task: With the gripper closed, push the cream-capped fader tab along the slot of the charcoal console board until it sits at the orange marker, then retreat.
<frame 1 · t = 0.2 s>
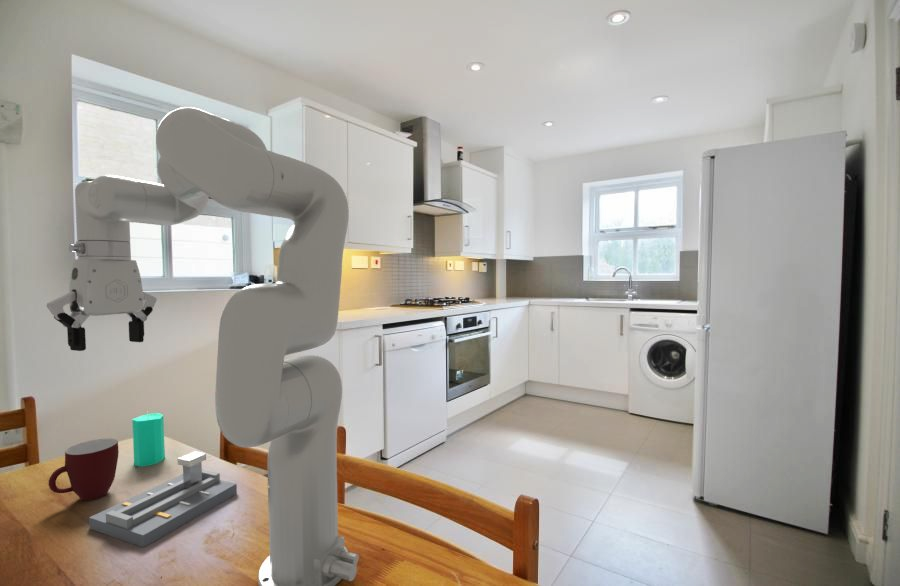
hand: (108, 345, 79), 31 cm above the table, fingers open, 9 cm apart
console: (168, 509, 80), on the table
fader tab: (192, 470, 84), point 5 cm above the table, slide at -5.0 cm
mug: (86, 499, 84), on the table
candle: (149, 461, 101), on the table
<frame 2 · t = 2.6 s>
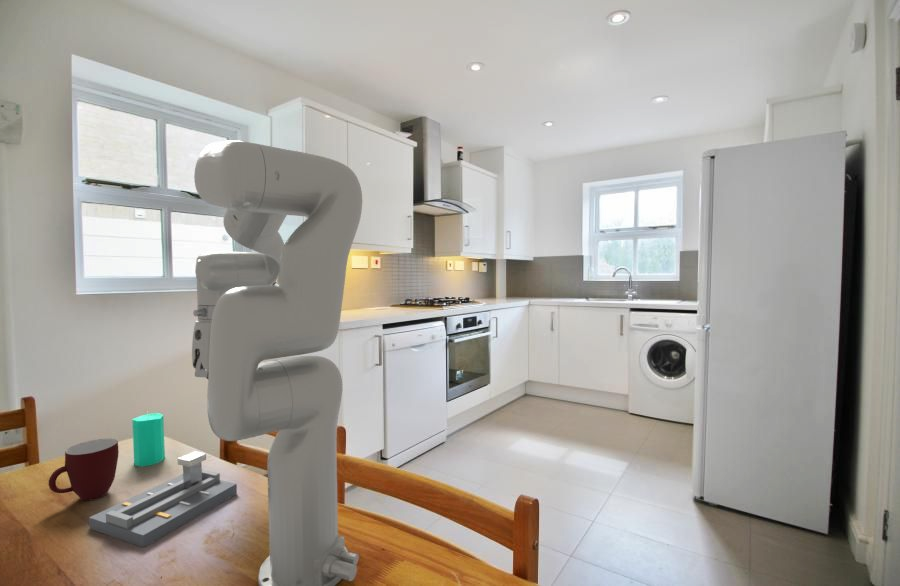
hand: (220, 399, 90), 17 cm above the table, fingers closed
nothing on the table moved.
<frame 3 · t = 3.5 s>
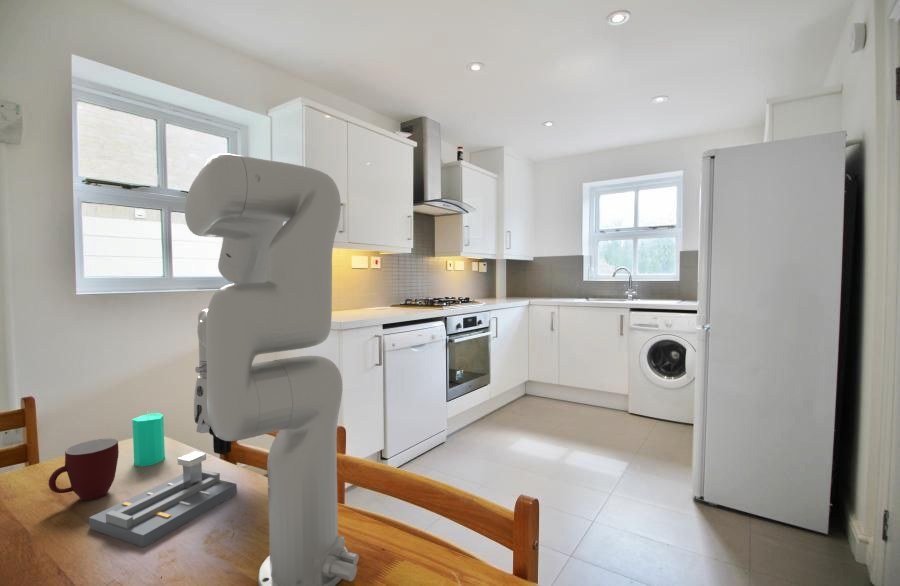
hand: (222, 452, 91), 6 cm above the table, fingers closed
nothing on the table moved.
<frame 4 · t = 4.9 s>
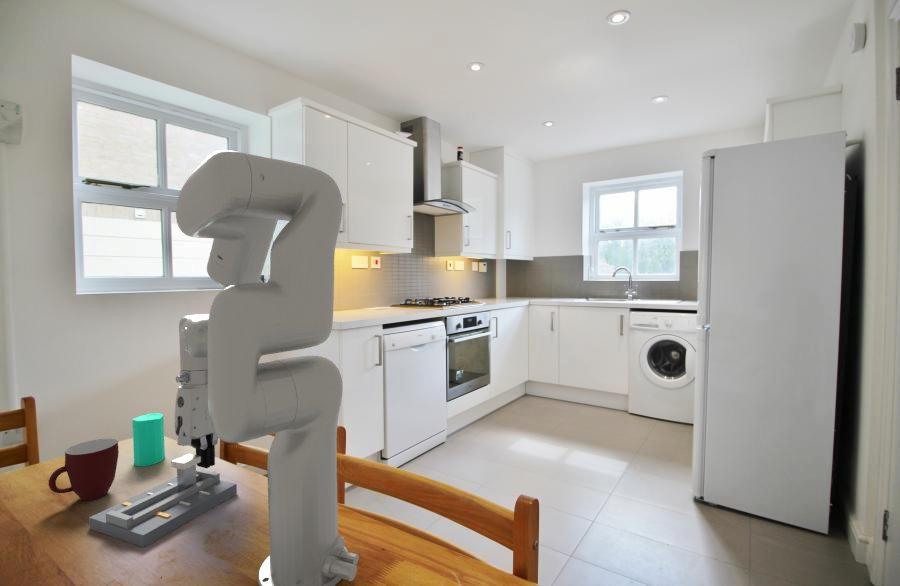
hand: (205, 465, 87), 5 cm above the table, fingers closed
fader tab: (186, 473, 83), point 5 cm above the table, slide at -3.8 cm, touching gripper
everything else where it was.
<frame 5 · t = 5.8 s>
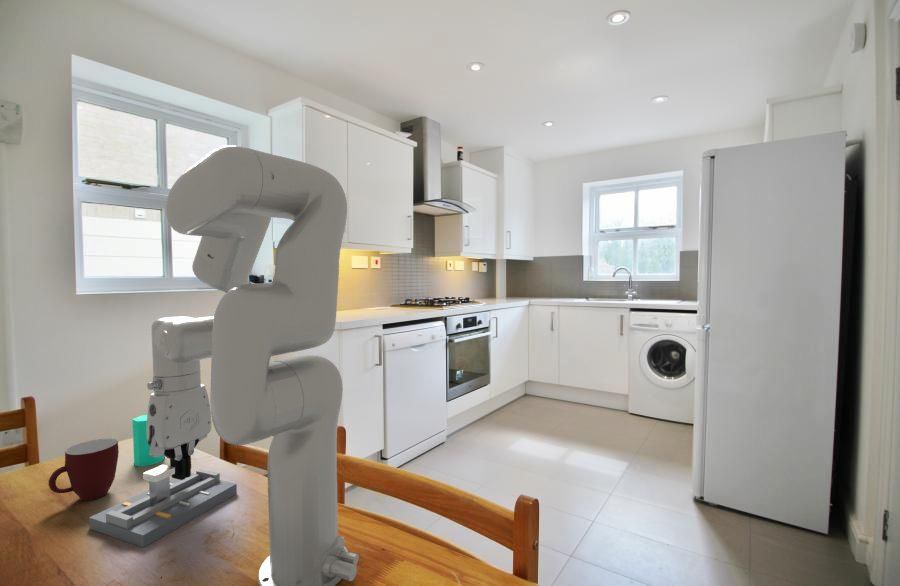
hand: (181, 477, 82), 5 cm above the table, fingers closed
fader tab: (159, 485, 78), point 5 cm above the table, slide at 1.5 cm, touching gripper
everything else where it was.
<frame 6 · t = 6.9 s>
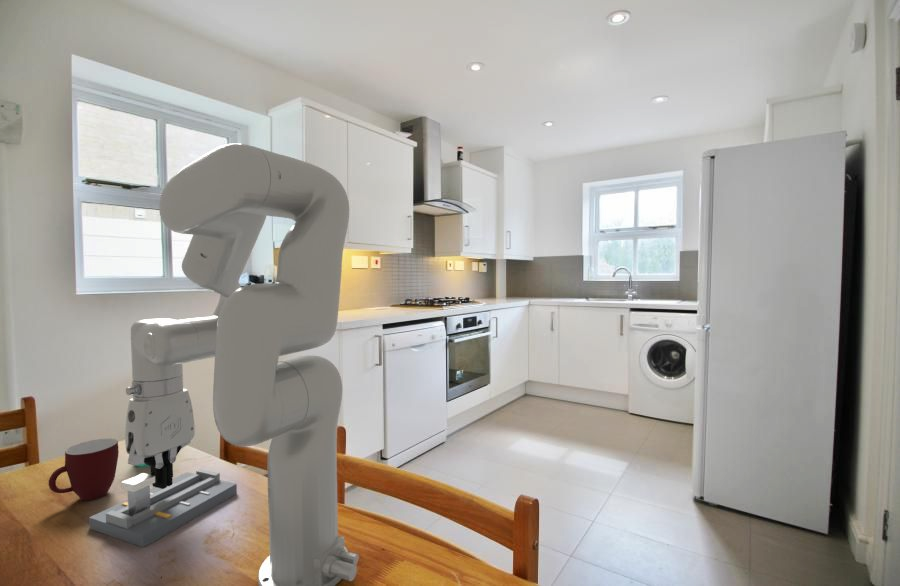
hand: (162, 485, 78), 5 cm above the table, fingers closed
fader tab: (139, 495, 75), point 5 cm above the table, slide at 5.0 cm, touching gripper
everything else where it was.
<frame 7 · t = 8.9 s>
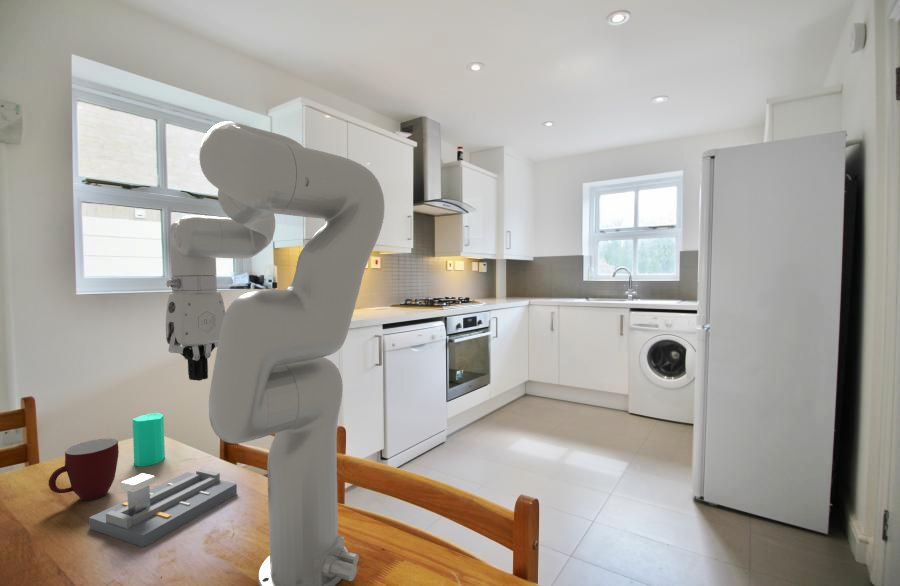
hand: (198, 379, 84), 23 cm above the table, fingers closed
fader tab: (138, 495, 75), point 5 cm above the table, slide at 5.1 cm
everything else where it was.
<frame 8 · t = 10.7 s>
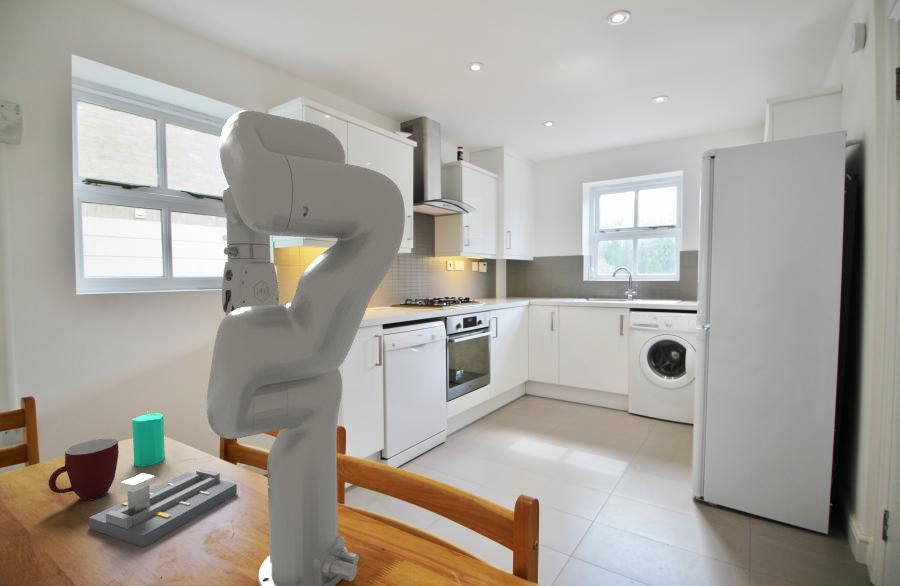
hand: (251, 349, 84), 29 cm above the table, fingers closed
nothing on the table moved.
at the end: fader tab slide at 5.1 cm; fader tab touching nothing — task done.
